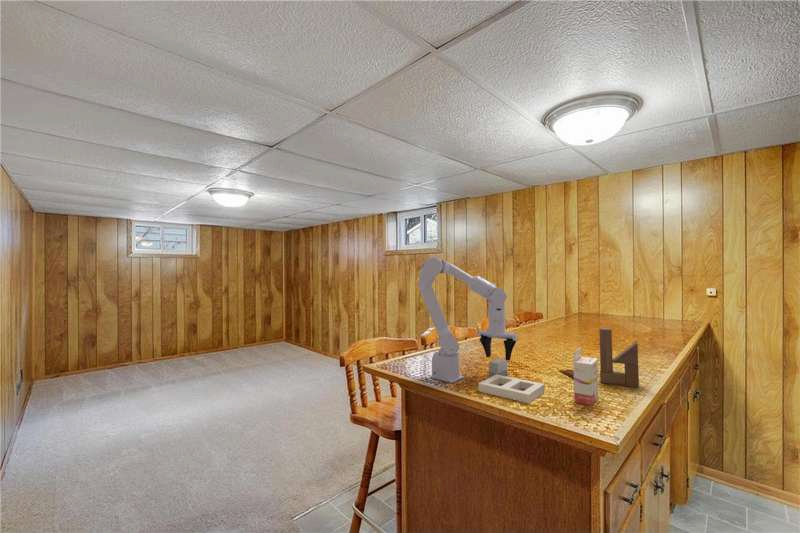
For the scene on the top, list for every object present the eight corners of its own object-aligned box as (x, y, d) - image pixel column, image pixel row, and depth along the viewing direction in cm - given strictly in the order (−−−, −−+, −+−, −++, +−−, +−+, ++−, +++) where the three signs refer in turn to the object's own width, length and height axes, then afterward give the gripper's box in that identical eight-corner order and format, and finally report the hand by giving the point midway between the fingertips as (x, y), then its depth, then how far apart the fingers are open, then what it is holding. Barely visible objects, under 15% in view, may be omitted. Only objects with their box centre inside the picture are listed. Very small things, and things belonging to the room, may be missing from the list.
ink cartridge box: (593, 406, 98) (591, 353, 98) (573, 402, 101) (572, 351, 101) (599, 397, 104) (597, 348, 104) (580, 394, 107) (579, 346, 108)
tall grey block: (489, 379, 124) (488, 362, 124) (498, 374, 130) (498, 358, 130) (498, 380, 122) (497, 363, 122) (507, 376, 127) (507, 359, 127)
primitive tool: (557, 371, 132) (557, 362, 132) (571, 371, 132) (571, 362, 132) (584, 389, 113) (584, 378, 113) (601, 388, 113) (601, 377, 113)
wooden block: (639, 387, 112) (637, 331, 112) (600, 383, 117) (598, 329, 117) (637, 384, 115) (636, 329, 115) (600, 380, 120) (598, 327, 120)
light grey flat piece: (478, 391, 112) (478, 383, 112) (496, 381, 121) (496, 374, 121) (528, 403, 101) (528, 394, 101) (544, 392, 110) (544, 384, 110)
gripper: (521, 320, 124) (522, 359, 124) (484, 317, 134) (485, 353, 134) (512, 323, 119) (513, 363, 119) (474, 320, 129) (475, 357, 129)
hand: (498, 358), depth 126 cm, fingers open, 7 cm apart
